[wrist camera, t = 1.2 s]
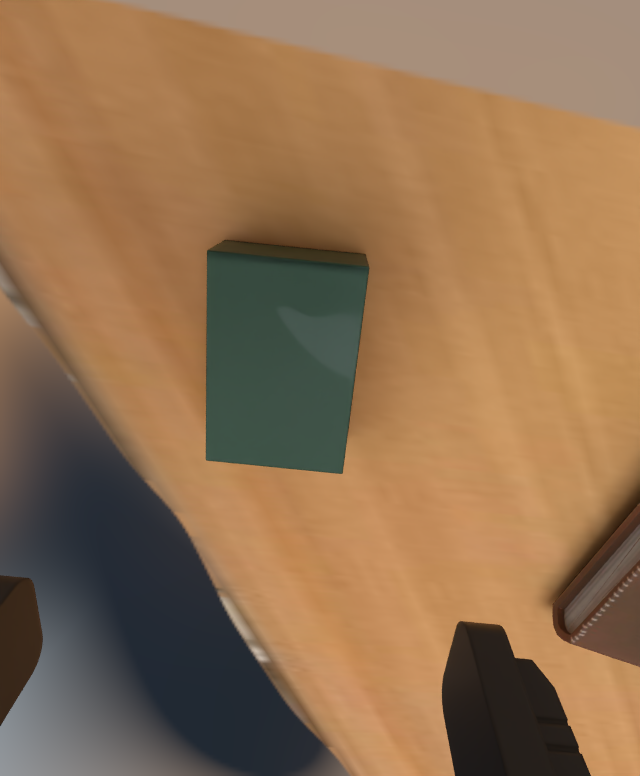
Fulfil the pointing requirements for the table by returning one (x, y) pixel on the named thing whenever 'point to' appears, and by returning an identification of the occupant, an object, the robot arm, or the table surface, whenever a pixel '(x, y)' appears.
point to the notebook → (281, 353)
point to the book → (606, 598)
